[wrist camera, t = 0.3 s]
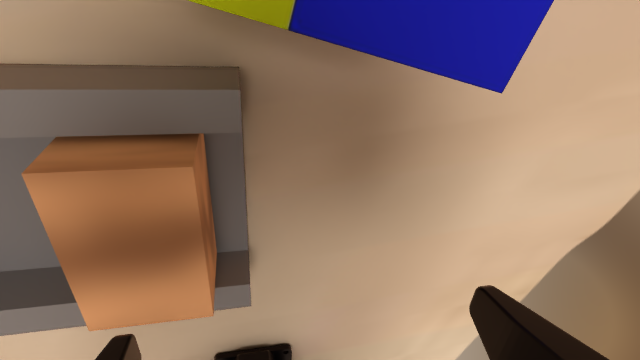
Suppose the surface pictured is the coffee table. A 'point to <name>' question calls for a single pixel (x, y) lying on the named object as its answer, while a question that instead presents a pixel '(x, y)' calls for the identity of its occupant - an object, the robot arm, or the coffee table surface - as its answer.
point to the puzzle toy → (414, 31)
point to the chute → (104, 120)
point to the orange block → (129, 225)
